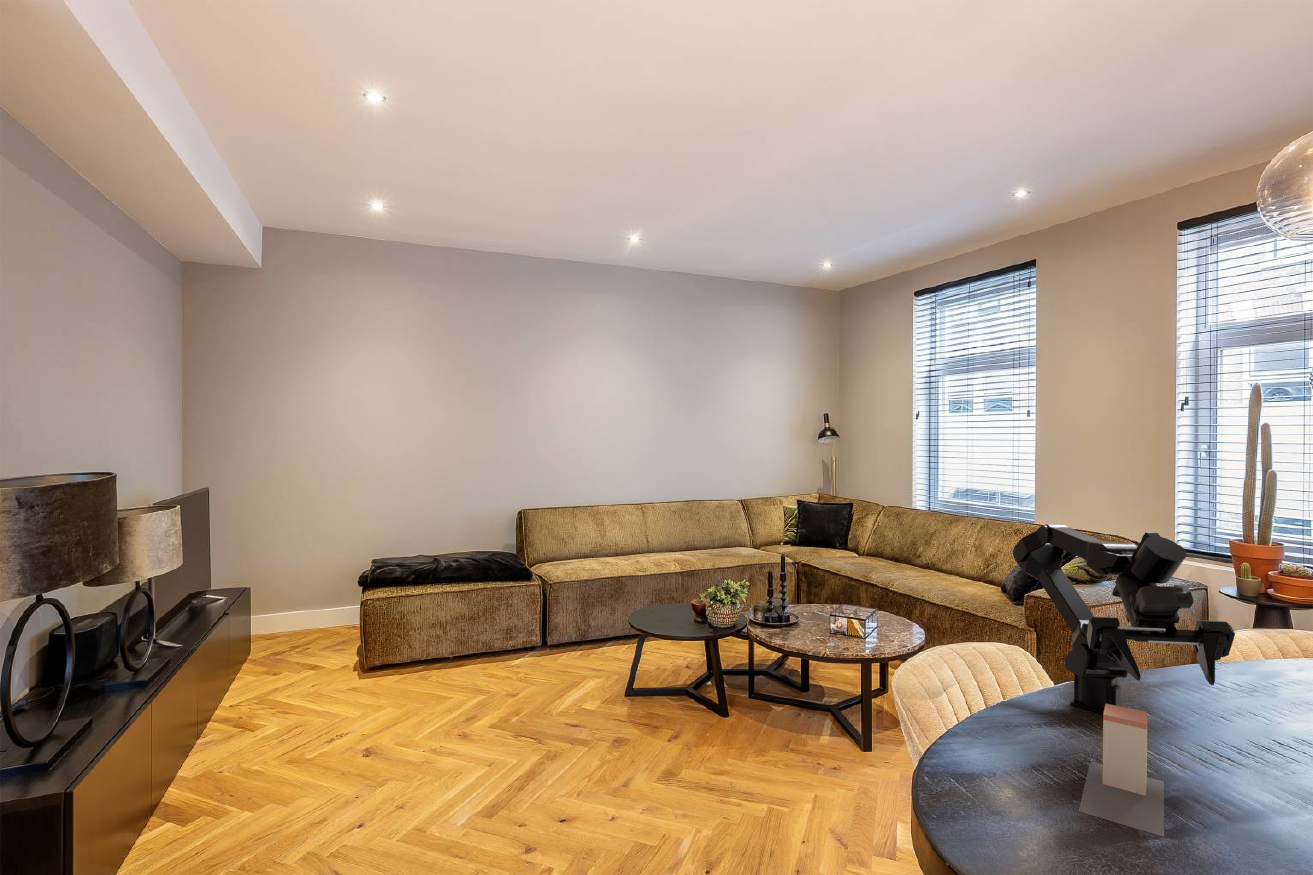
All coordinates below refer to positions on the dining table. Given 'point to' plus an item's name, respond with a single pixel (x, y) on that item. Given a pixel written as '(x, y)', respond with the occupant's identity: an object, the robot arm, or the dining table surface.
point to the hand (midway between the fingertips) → (1175, 681)
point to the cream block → (1125, 748)
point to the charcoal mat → (1124, 803)
